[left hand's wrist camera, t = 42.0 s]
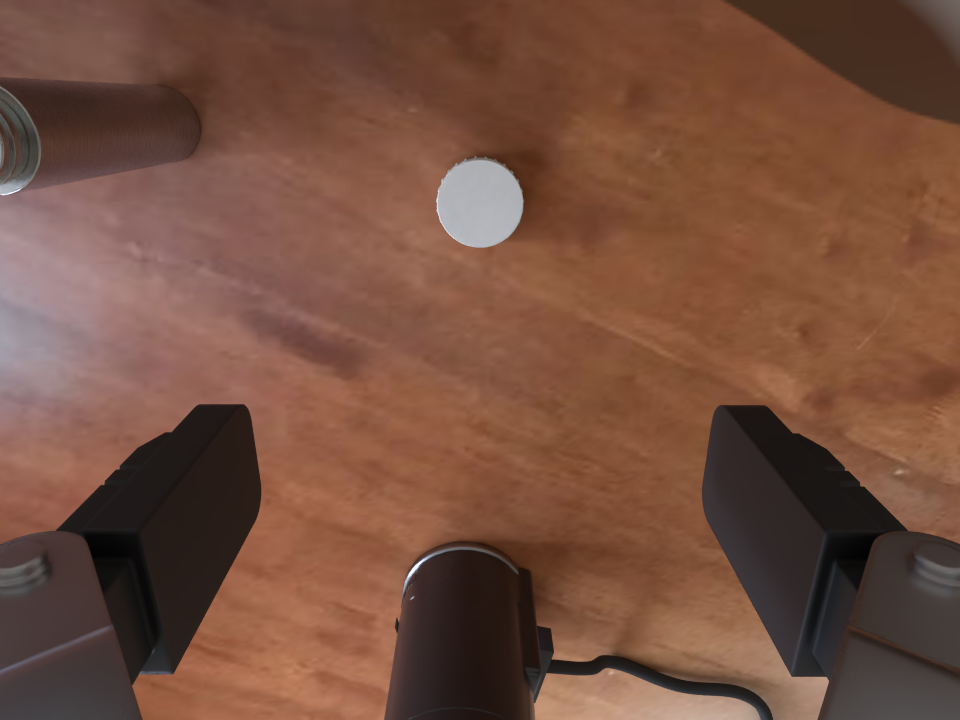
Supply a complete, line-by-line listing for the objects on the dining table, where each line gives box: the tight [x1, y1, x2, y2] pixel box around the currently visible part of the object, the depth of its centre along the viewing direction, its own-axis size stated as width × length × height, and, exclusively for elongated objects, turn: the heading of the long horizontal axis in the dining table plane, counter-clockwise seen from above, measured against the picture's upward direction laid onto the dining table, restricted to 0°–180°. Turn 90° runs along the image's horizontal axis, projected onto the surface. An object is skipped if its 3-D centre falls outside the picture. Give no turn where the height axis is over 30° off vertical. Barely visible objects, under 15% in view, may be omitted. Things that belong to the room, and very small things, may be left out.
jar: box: [0, 77, 200, 195], centre depth 30 cm, size 4×4×16 cm
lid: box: [436, 156, 524, 247], centre depth 38 cm, size 5×5×2 cm
